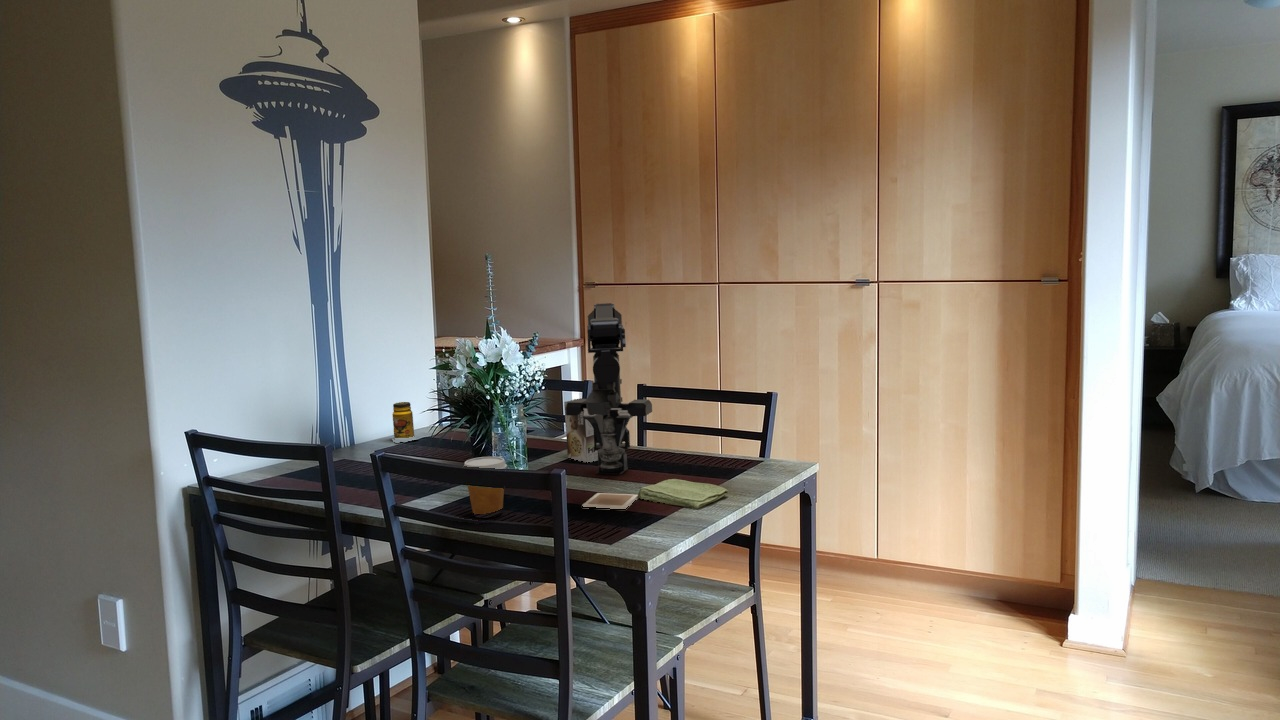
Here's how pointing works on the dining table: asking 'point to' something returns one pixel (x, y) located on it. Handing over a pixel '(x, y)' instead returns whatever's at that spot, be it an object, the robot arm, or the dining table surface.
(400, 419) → the condiment
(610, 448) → the salt shaker
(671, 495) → the washcloth
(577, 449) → the coffee box
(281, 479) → the dining table surface
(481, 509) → the disposable coffee cup
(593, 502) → the coaster
